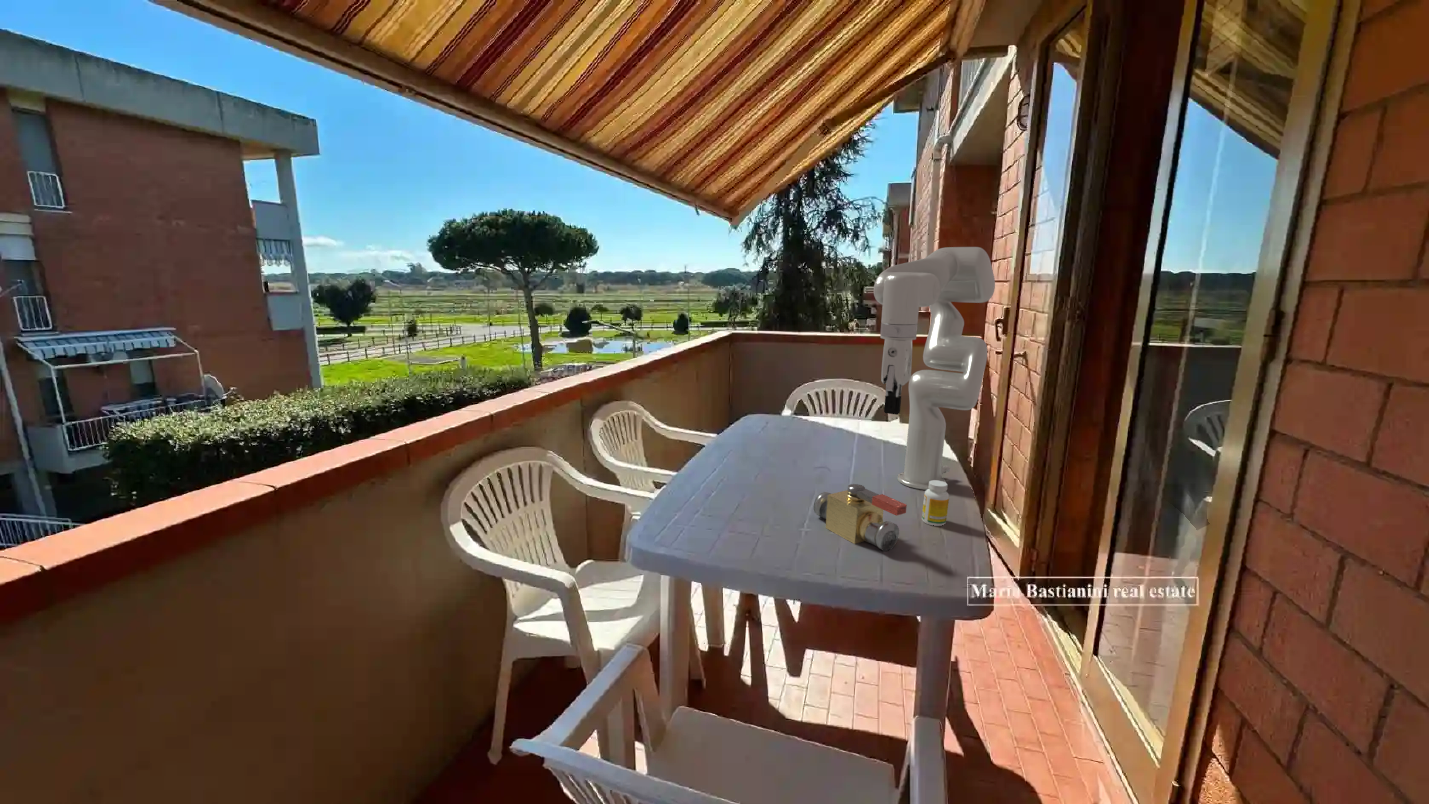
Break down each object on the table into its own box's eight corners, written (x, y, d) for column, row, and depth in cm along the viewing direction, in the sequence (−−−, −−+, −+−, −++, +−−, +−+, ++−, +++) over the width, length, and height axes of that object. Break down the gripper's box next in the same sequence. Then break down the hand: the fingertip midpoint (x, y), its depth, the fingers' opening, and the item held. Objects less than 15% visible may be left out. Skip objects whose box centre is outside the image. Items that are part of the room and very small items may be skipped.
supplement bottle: (916, 519, 133) (920, 480, 131) (933, 515, 135) (937, 477, 133) (934, 528, 128) (938, 488, 126) (951, 524, 131) (955, 485, 129)
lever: (844, 492, 124) (844, 484, 124) (856, 489, 126) (856, 482, 126) (894, 516, 112) (895, 507, 112) (907, 512, 114) (908, 504, 114)
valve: (809, 519, 132) (811, 483, 130) (835, 512, 136) (837, 477, 134) (874, 554, 115) (877, 514, 113) (901, 546, 119) (904, 507, 117)
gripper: (910, 336, 115) (902, 423, 119) (922, 329, 128) (914, 408, 132) (873, 334, 118) (867, 418, 123) (888, 327, 131) (882, 404, 135)
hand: (891, 412), depth 127 cm, fingers closed
